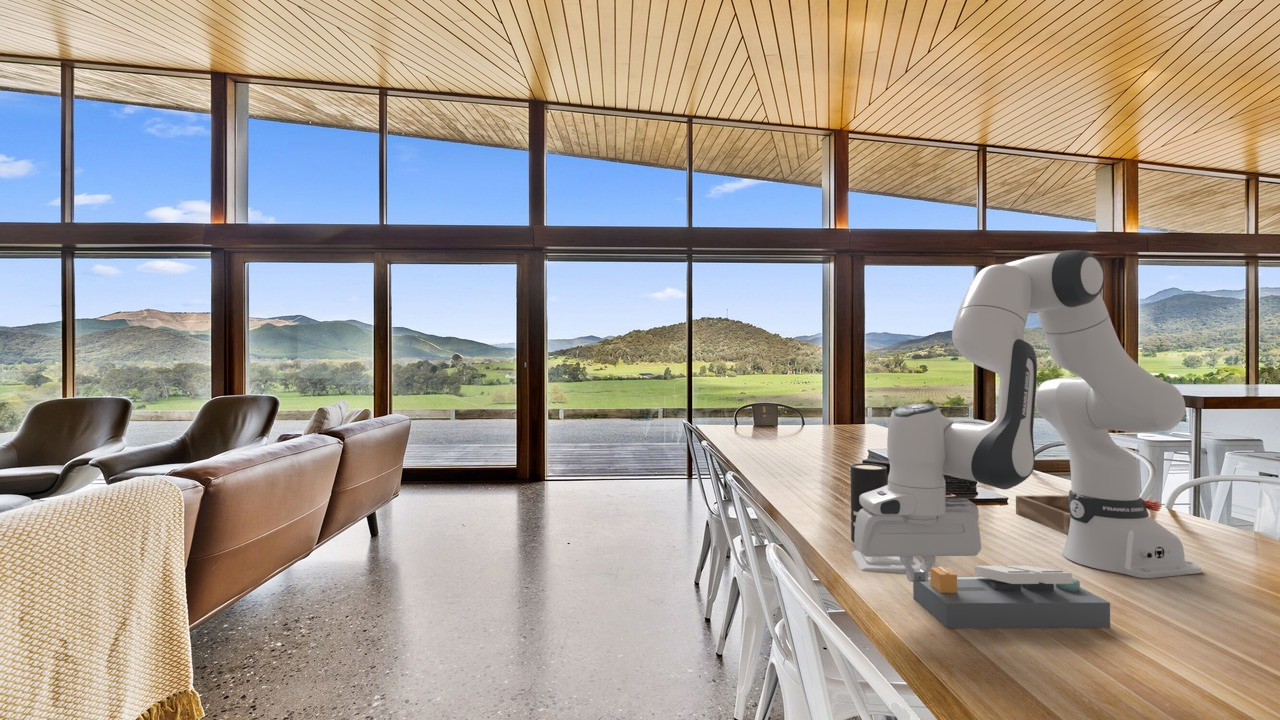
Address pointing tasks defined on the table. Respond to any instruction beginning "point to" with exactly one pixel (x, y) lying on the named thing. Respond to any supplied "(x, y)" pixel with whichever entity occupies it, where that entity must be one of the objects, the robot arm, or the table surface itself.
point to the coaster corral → (1046, 510)
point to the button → (1070, 586)
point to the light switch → (882, 563)
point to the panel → (1012, 605)
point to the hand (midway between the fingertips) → (917, 580)
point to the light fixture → (866, 483)
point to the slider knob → (943, 580)
